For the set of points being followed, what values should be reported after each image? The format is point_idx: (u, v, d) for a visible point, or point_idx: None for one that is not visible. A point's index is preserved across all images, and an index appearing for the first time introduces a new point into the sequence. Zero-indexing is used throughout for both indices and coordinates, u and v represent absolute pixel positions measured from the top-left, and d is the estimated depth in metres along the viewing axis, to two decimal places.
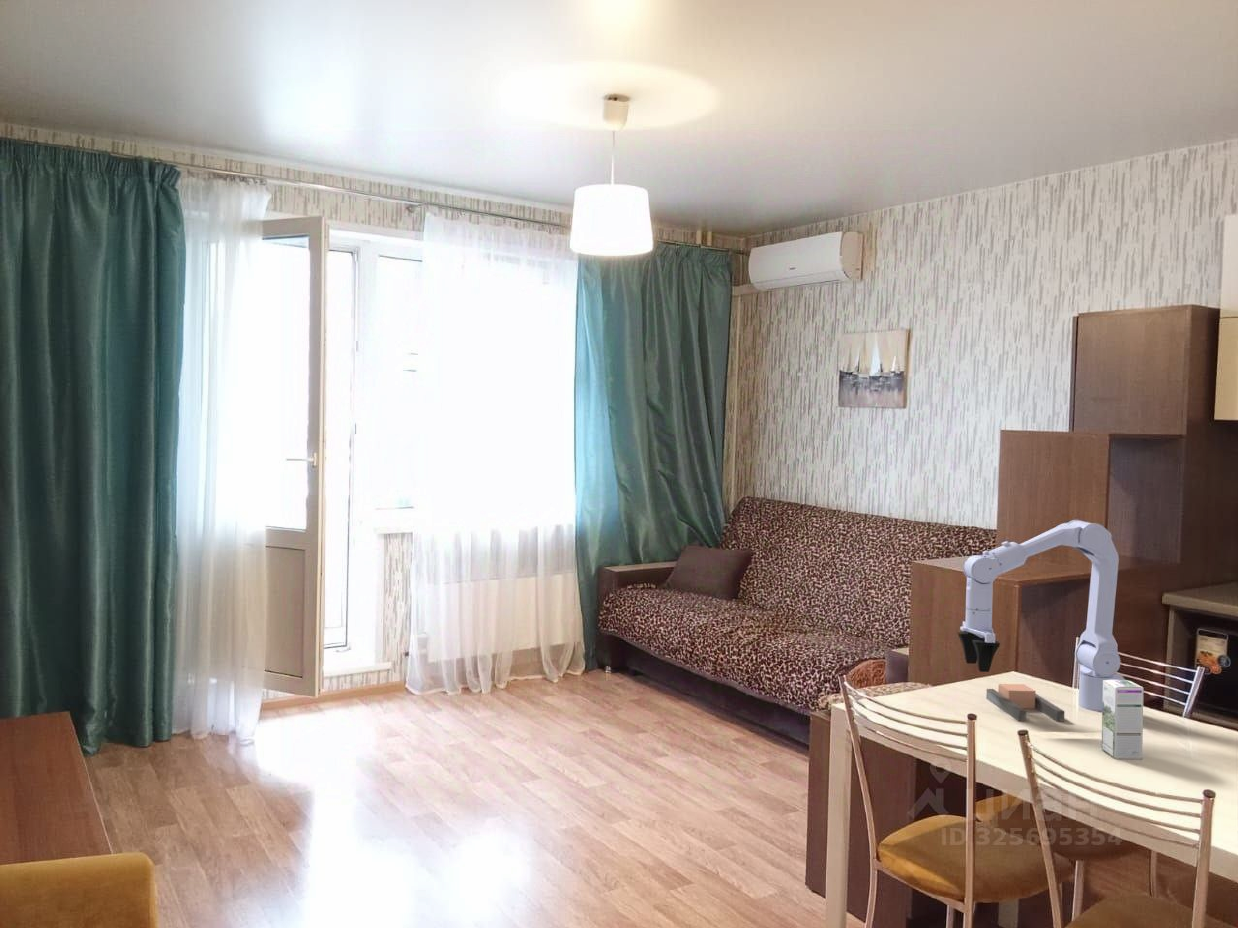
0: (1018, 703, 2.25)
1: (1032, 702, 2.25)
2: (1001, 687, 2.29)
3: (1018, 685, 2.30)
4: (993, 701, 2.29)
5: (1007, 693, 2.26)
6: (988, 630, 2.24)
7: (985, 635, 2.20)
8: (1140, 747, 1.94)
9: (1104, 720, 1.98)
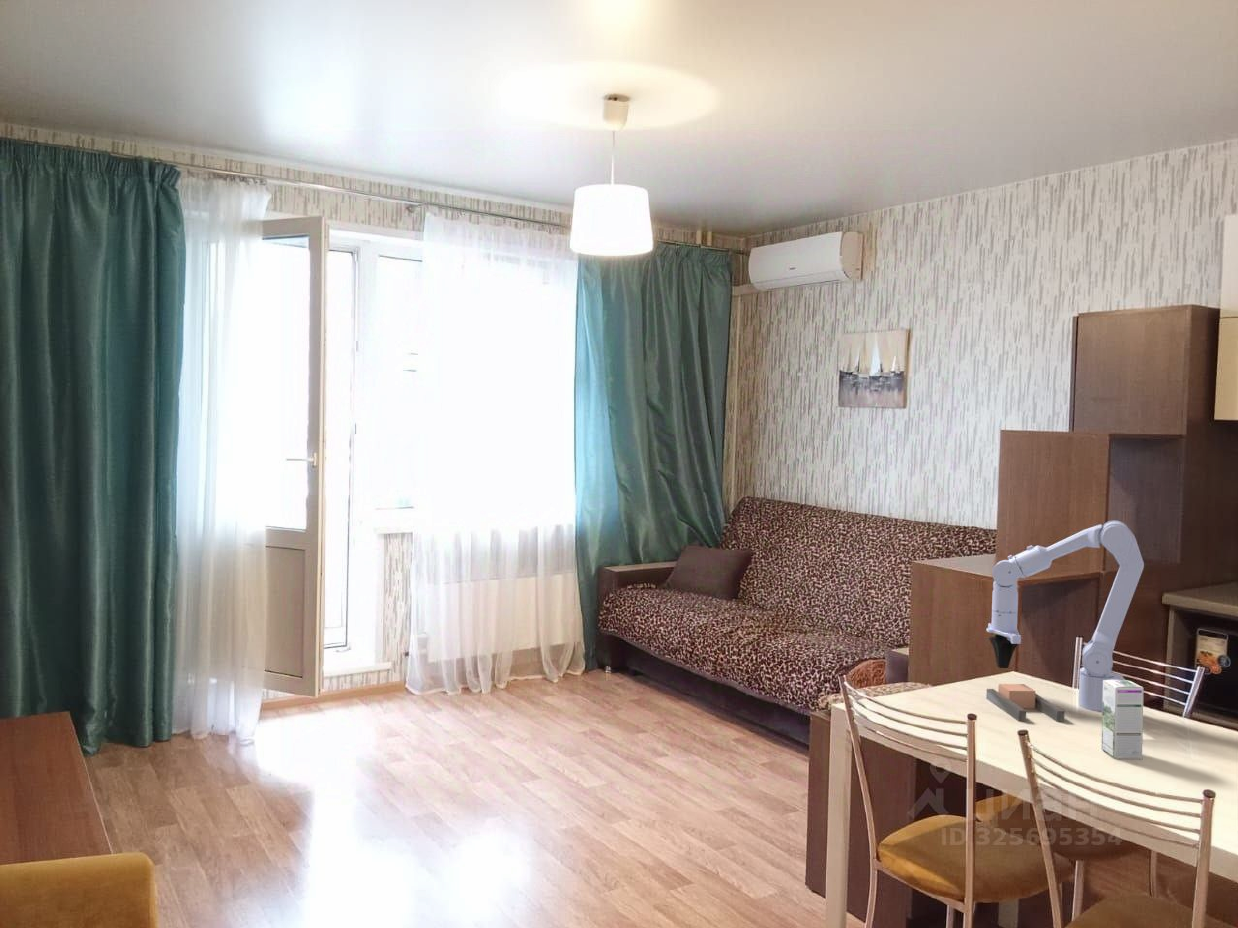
0: (1018, 703, 2.25)
1: (1032, 702, 2.25)
2: (1001, 687, 2.29)
3: (1018, 685, 2.30)
4: (993, 701, 2.29)
5: (1007, 693, 2.26)
6: (1013, 632, 2.33)
7: (1011, 636, 2.29)
8: (1139, 747, 1.94)
9: (1104, 720, 1.98)
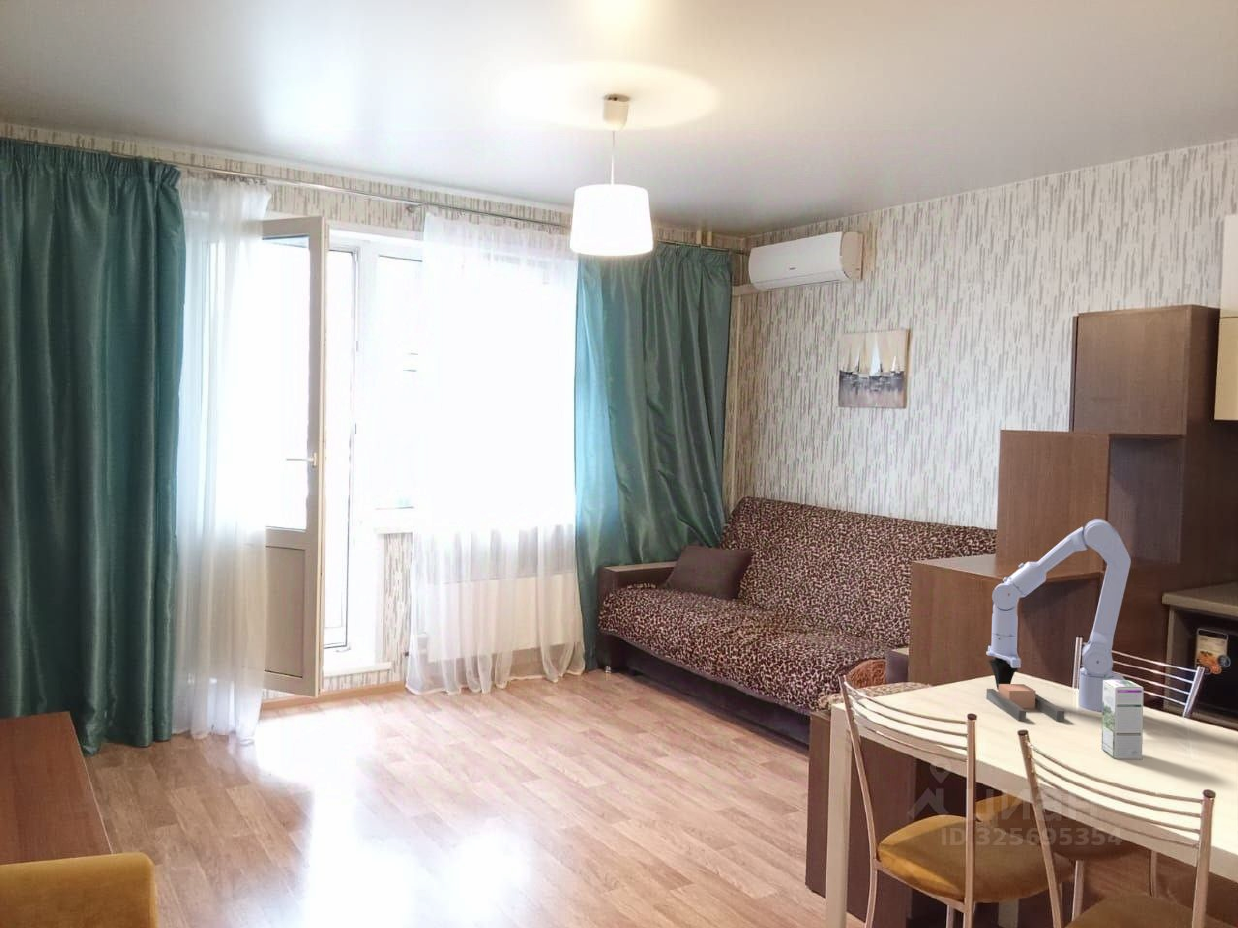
0: (1018, 703, 2.25)
1: (1032, 702, 2.25)
2: (1001, 687, 2.29)
3: (1018, 685, 2.30)
4: (993, 701, 2.29)
5: (1007, 693, 2.26)
6: (1013, 655, 2.32)
7: (1011, 660, 2.28)
8: (1140, 747, 1.94)
9: (1104, 720, 1.98)
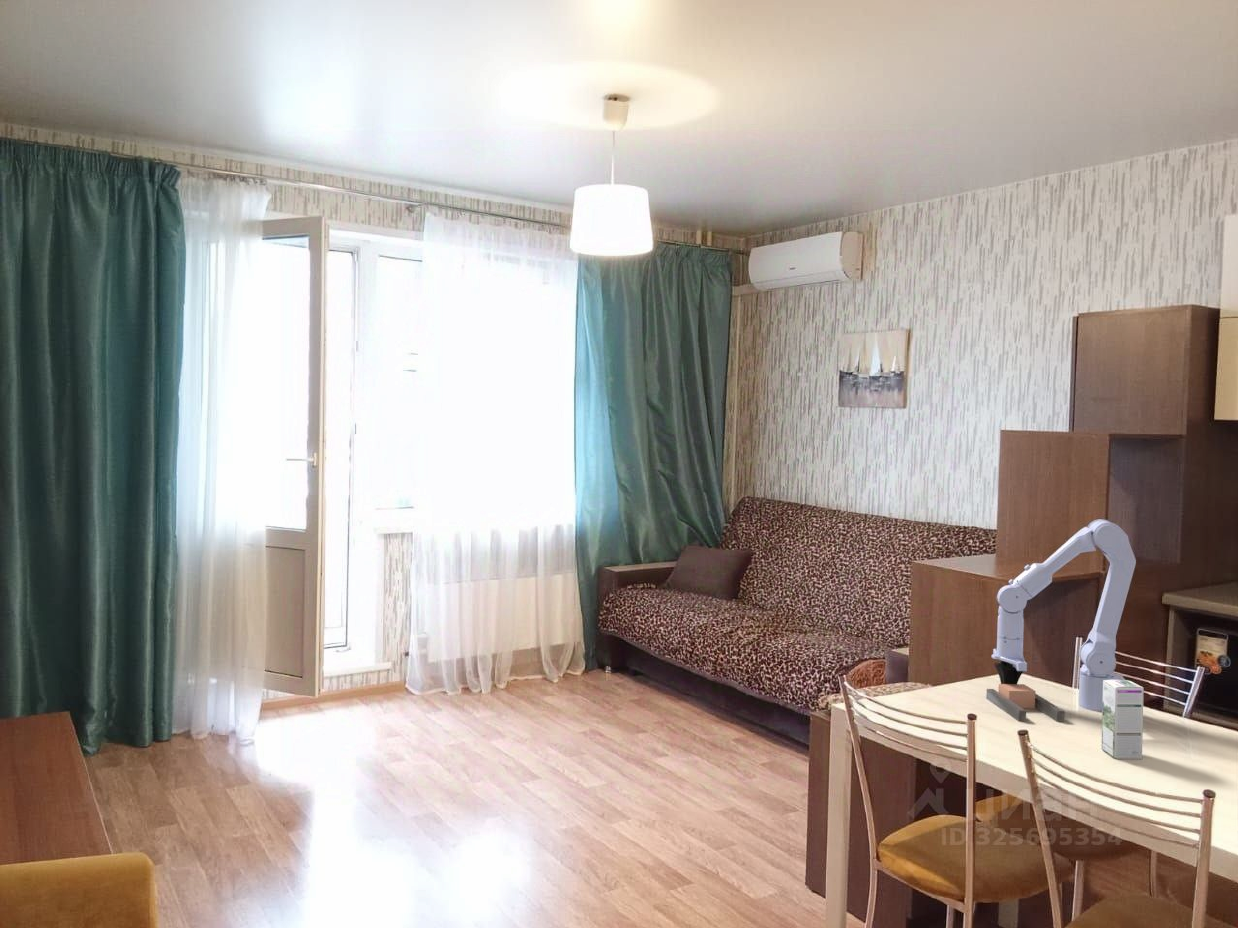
0: (1018, 703, 2.25)
1: (1032, 702, 2.25)
2: (1001, 687, 2.29)
3: (1018, 685, 2.30)
4: (993, 701, 2.29)
5: (1007, 693, 2.26)
6: (1019, 658, 2.29)
7: (1017, 664, 2.25)
8: (1140, 747, 1.94)
9: (1104, 720, 1.98)
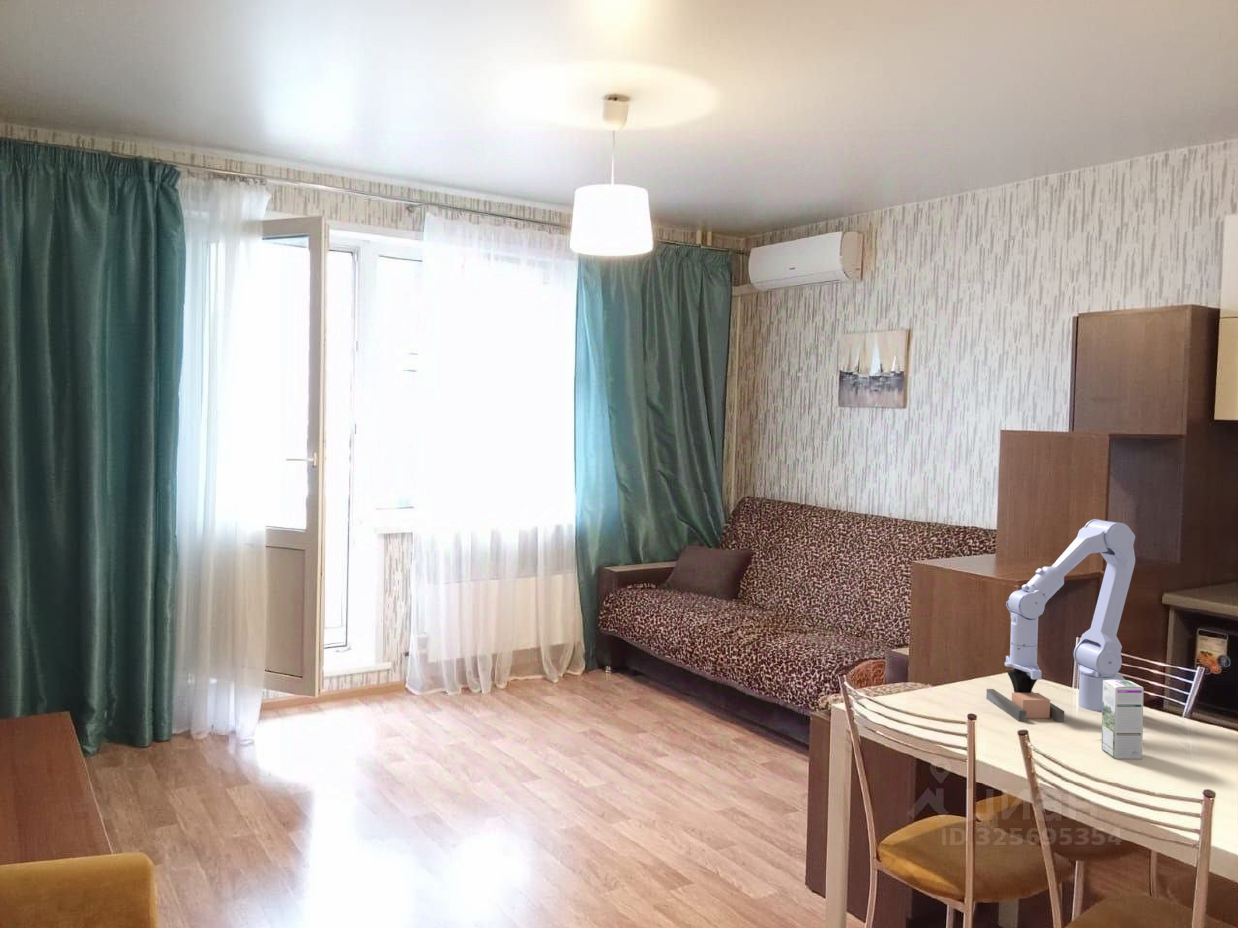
0: (1032, 712, 2.17)
1: (1047, 711, 2.17)
2: (1014, 696, 2.22)
3: (1032, 694, 2.22)
4: (993, 701, 2.29)
5: (1021, 702, 2.18)
6: (1033, 666, 2.22)
7: (1031, 672, 2.18)
8: (1139, 747, 1.94)
9: (1104, 720, 1.98)
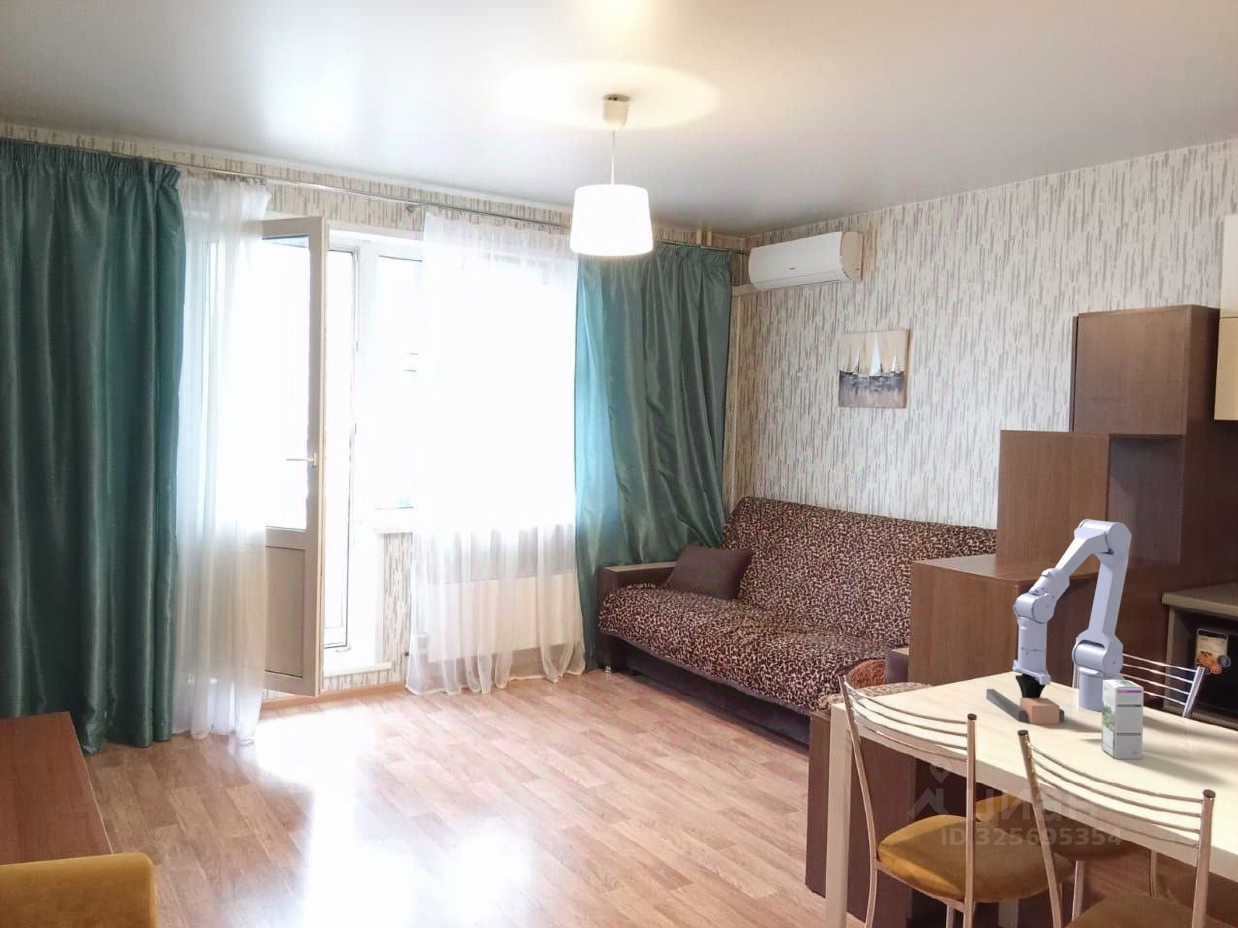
0: (1041, 718, 2.13)
1: (1056, 717, 2.13)
2: (1023, 701, 2.17)
3: (1041, 699, 2.18)
4: (993, 701, 2.29)
5: (1029, 708, 2.14)
6: (1042, 671, 2.17)
7: (1040, 677, 2.13)
8: (1140, 747, 1.94)
9: (1104, 720, 1.98)
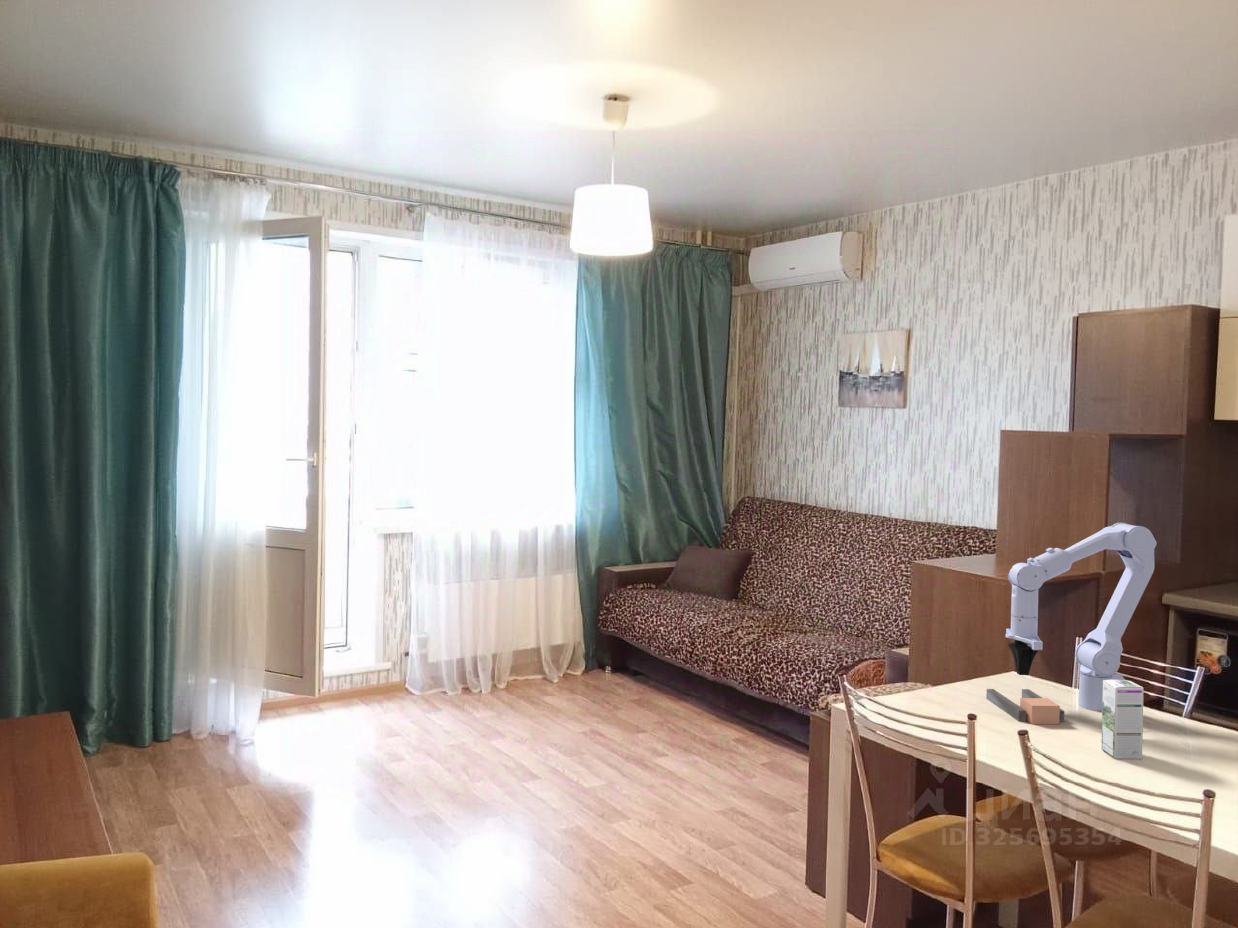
0: (1041, 718, 2.13)
1: (1056, 717, 2.13)
2: (1023, 701, 2.17)
3: (1041, 699, 2.18)
4: (993, 701, 2.29)
5: (1030, 708, 2.14)
6: (1034, 637, 2.24)
7: (1032, 643, 2.20)
8: (1140, 747, 1.94)
9: (1104, 720, 1.98)
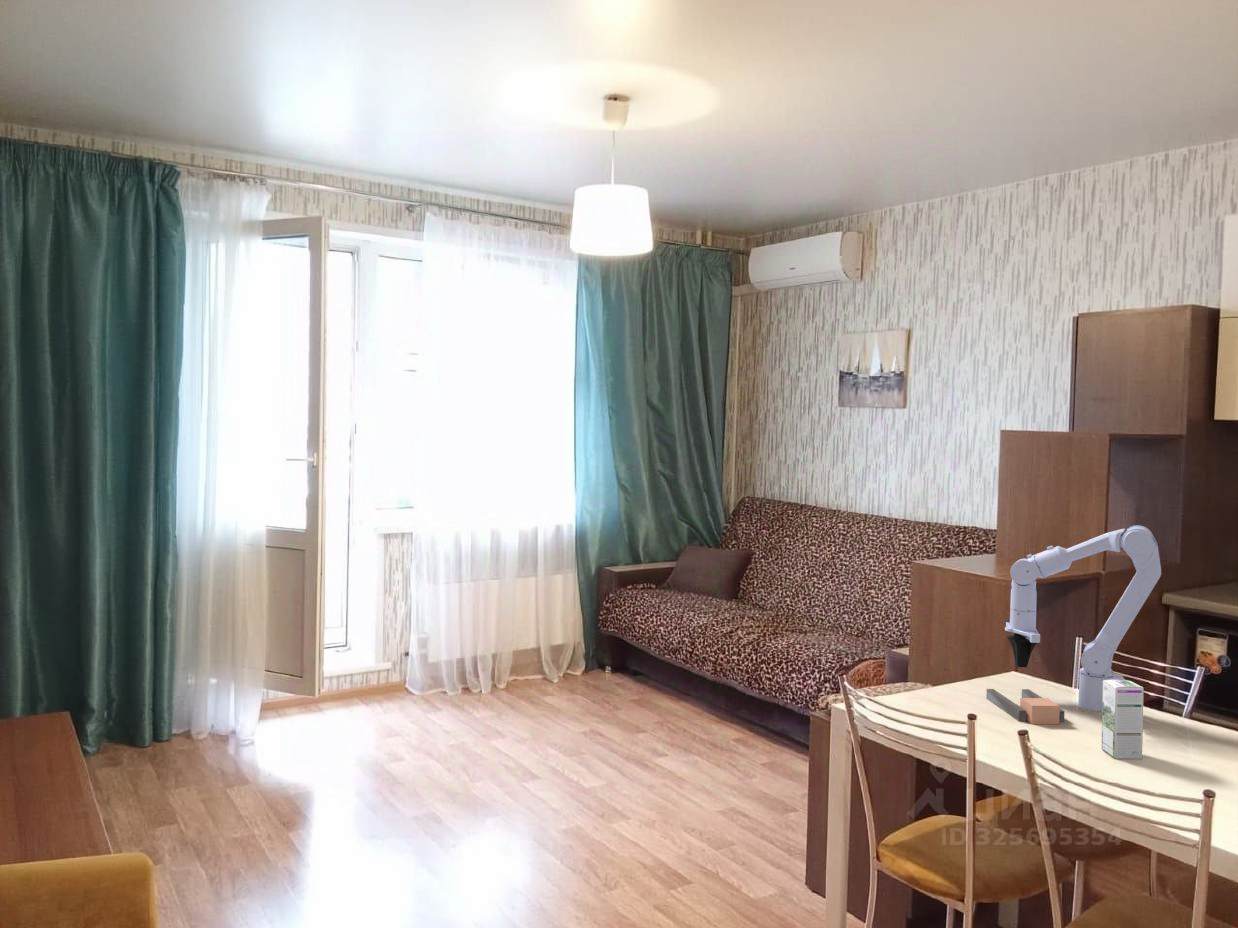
0: (1041, 718, 2.13)
1: (1056, 717, 2.13)
2: (1023, 701, 2.17)
3: (1041, 699, 2.18)
4: (993, 701, 2.29)
5: (1030, 708, 2.14)
6: (1032, 631, 2.32)
7: (1030, 635, 2.28)
8: (1140, 747, 1.94)
9: (1104, 720, 1.98)
